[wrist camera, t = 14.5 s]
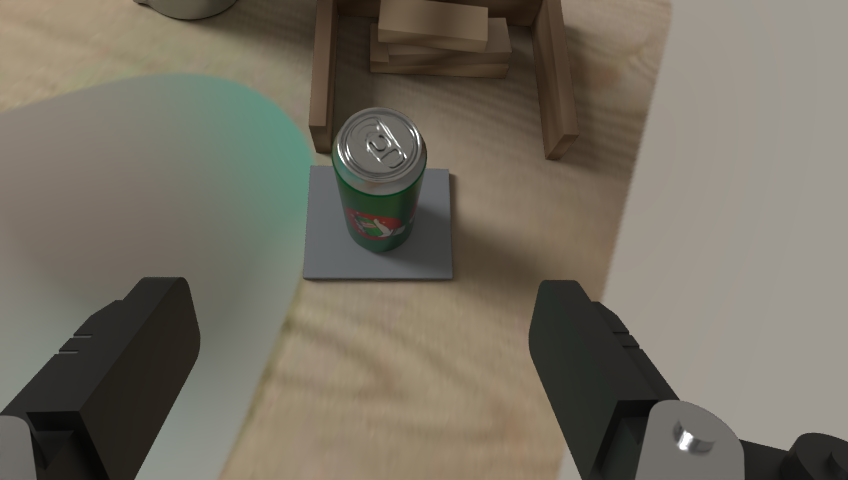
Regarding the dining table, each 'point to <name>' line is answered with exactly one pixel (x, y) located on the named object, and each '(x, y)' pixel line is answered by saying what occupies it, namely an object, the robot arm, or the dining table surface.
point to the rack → (518, 3)
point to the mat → (345, 259)
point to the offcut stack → (439, 40)
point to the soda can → (379, 176)
